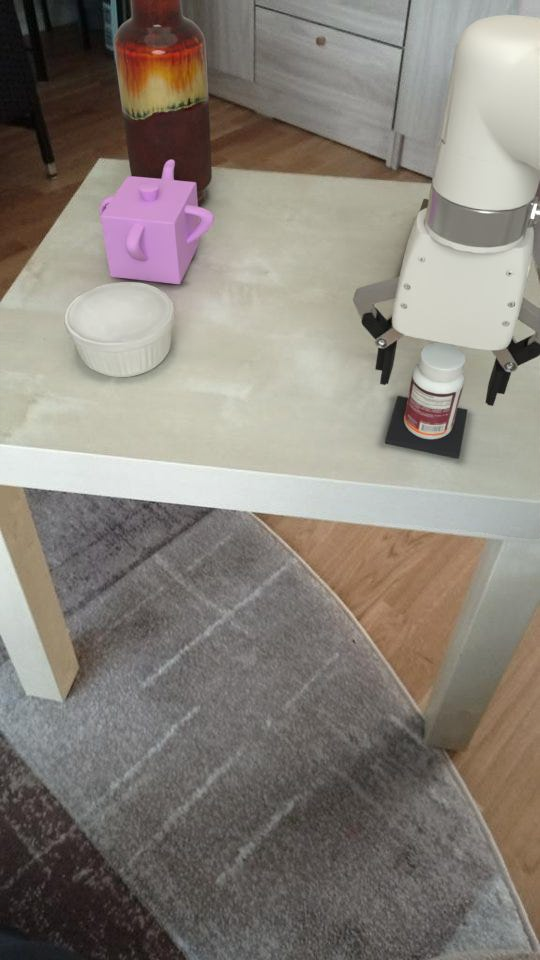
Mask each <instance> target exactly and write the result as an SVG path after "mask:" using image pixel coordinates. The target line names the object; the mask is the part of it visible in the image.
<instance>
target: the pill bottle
mask: <svg viewBox="0 0 540 960" xmlns="http://www.w3.org/2000/svg"><path fill="white" fill-rule="evenodd" d="M418 358H419V359H418V363H417V364H416V365H415V366H414V368H413V370H412V372H411V379H410V384H409V391H408V395H407V398H408V400H407V405H406V411H405V416H404V423H405V425H406V427H407V429H408V430H409V431H410V432H411V433H413V434H414V435H416V436H418V437H420V438H424V439H438V438H442V437H444V436H446V435H447V434H448V433H450V431H451V429H452V427H453V423H454V420H455V416H456V412H457V408H459V403H460V400H461V396H462V393H463V388H464V386H465V380H466V379H465V373H464V370H465V365H466V360H467V359H466V358H467V357H466V354H465V352H464V351H463V350H462V349H461V348H460V346H457V345H452V344H446V343H441V342H435V341H433V342H431V343H428V344H426V345H425V346H423V348H421V351H420V353H419V357H418Z"/></svg>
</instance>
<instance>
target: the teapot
mask: <svg viewBox="0 0 540 960" xmlns="http://www.w3.org/2000/svg"><path fill="white" fill-rule="evenodd" d="M174 166H175V161H174V160H168V161H167V162H166V163H165V165H164V168H163V173H162V178H161V179H156V178H145V177H134V176H131V175H127V176H126V178H125V179H124V180H123V182H122V184H120V187H119V188H118V189H117V191H116V192H115V193H114V194H110V195H107V196H106V197H105V198H103V199H102V201H101V202H100V204H99V207H98V213H99V216H100V221H101V228H102V234H103V238H104V240H103V241H104V245H105V246H104V247H105V252H106V257H107V264H108V270H109V275H110V277H112V278H120V279H129V280H137V281H147V282H155V283H165V284H175V285H181V283H182V282H183V279H184V276H185V275H186V272H187V270H188V269H189V266H190V265H191V264H190V263H191V262H192V259H194V258H193V257H194V256H195V253H196V251H197V249H198V247H199V245H200V243H201V237H202V236H203V235H204V234H205V233H207V232H208V231H209V230H210V229H211V228H212V226H213V224H214V222H215V216H214V213H213V212H211V211H210V210H208V209H207V208H204V207H201V206H198V201H197V185H196V182H187V181H177V180H174Z"/></svg>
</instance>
